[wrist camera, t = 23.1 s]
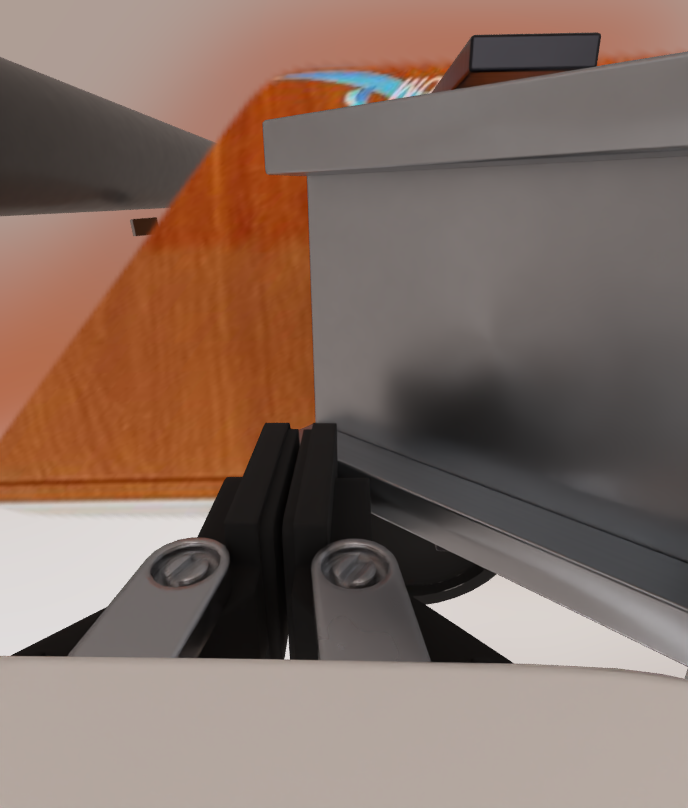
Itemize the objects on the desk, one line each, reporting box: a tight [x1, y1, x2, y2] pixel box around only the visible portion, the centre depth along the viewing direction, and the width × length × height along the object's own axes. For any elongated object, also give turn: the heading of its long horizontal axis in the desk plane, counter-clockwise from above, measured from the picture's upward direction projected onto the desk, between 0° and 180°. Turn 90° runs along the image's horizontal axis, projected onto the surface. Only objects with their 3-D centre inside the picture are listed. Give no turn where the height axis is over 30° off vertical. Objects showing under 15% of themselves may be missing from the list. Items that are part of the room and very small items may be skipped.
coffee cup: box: [371, 513, 496, 605], centre depth 27 cm, size 8×8×15 cm
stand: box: [432, 33, 601, 551], centre depth 20 cm, size 6×10×22 cm, turn 1°
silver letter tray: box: [263, 52, 688, 680], centre depth 9 cm, size 10×8×2 cm
